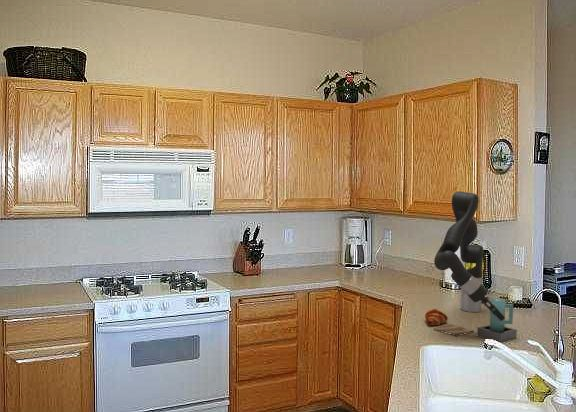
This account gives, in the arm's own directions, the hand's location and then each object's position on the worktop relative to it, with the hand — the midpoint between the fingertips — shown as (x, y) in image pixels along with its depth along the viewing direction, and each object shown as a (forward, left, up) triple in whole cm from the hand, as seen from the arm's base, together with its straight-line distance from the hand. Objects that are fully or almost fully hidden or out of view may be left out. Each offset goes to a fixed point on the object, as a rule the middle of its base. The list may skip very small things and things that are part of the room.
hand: (501, 317), depth 237 cm
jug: (0, 0, -8) cm, 9 cm away
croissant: (-31, -3, -9) cm, 33 cm away
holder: (-1, -1, -8) cm, 9 cm away
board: (-17, -9, -8) cm, 21 cm away
